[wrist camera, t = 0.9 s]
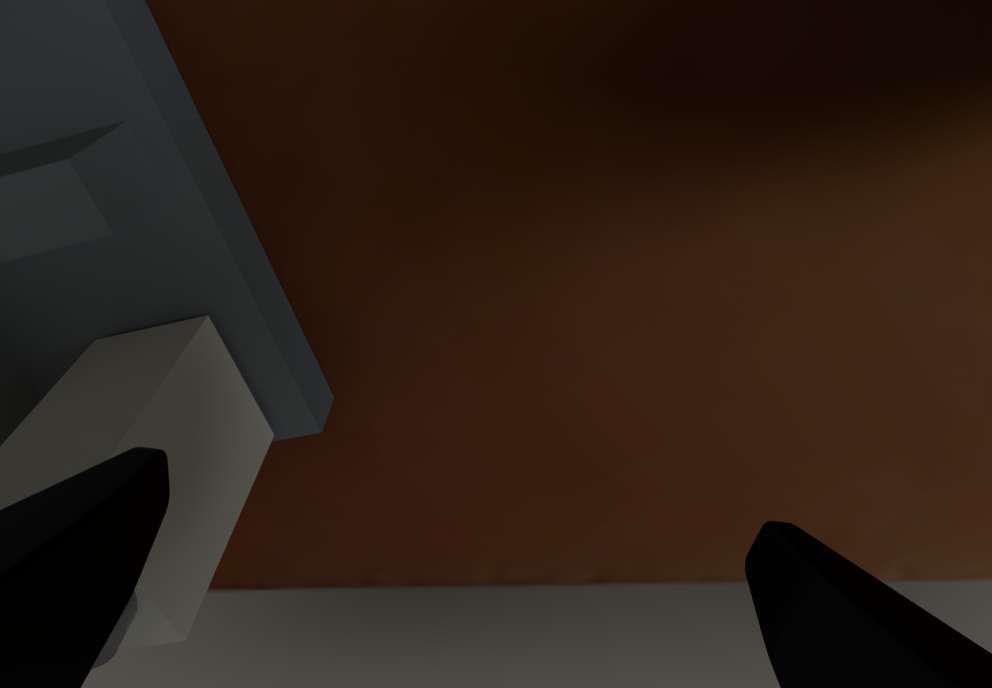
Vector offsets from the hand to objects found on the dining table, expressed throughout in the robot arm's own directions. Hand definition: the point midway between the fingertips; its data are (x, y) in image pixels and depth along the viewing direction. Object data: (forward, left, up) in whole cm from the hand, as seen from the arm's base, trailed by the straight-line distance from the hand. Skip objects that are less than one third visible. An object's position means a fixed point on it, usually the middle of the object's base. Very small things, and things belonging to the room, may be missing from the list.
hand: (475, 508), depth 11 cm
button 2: (+9, +8, -11) cm, 17 cm away
